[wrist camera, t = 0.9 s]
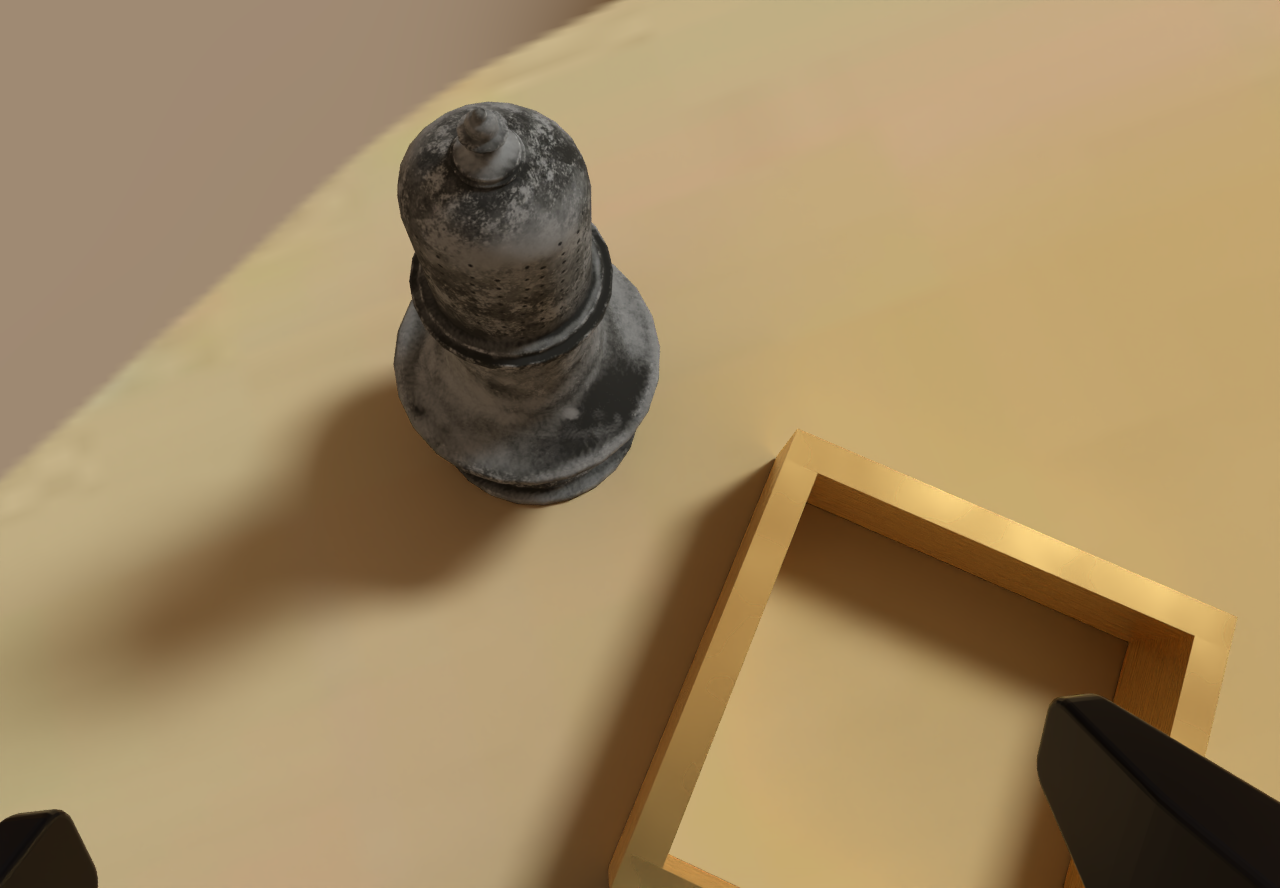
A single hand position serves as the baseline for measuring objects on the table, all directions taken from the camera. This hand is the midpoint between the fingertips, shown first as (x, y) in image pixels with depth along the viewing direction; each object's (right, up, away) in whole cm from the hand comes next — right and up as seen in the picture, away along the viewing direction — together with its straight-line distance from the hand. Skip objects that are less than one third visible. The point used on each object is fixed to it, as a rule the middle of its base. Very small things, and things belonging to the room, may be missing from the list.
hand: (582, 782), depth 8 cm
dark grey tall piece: (-2, +4, +15) cm, 16 cm away
